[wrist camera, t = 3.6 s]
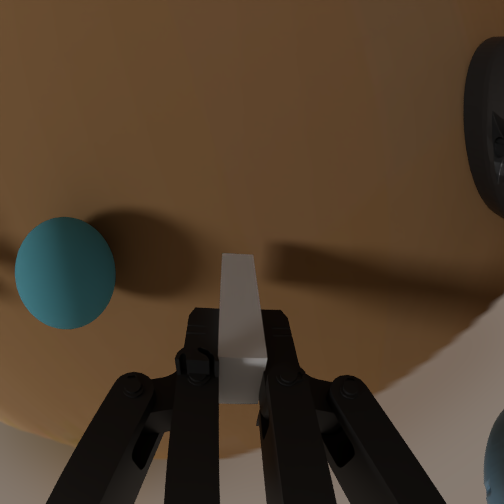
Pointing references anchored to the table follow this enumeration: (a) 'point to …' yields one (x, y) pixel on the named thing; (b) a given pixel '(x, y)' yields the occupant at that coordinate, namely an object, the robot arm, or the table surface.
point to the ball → (65, 273)
